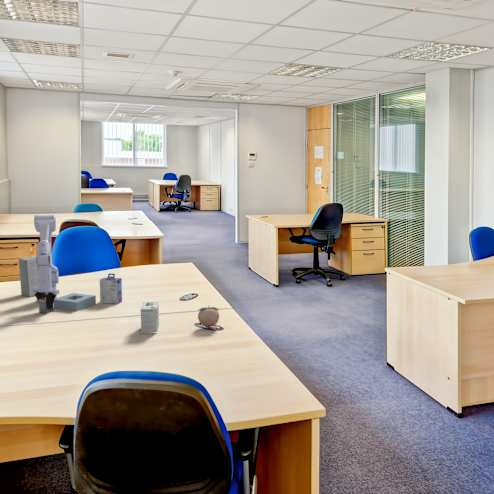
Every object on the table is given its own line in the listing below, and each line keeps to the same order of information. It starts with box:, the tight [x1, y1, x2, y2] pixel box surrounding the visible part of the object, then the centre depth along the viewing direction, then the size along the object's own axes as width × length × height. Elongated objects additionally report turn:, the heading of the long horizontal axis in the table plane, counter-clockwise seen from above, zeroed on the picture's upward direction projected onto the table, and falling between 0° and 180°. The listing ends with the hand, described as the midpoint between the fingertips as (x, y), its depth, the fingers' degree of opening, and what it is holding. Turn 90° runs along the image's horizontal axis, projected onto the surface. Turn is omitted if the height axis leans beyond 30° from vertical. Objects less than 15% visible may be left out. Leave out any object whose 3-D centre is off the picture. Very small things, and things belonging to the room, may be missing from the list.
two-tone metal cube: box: [38, 297, 55, 315], centre depth 244 cm, size 4×5×6 cm
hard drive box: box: [18, 255, 54, 298], centre depth 278 cm, size 16×8×20 cm, turn 144°
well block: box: [53, 292, 97, 312], centre depth 255 cm, size 14×14×4 cm
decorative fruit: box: [197, 306, 220, 328], centre depth 222 cm, size 9×8×10 cm
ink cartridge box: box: [99, 273, 123, 305], centre depth 262 cm, size 10×6×14 cm, turn 79°
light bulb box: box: [140, 301, 160, 334], centre depth 219 cm, size 11×7×11 cm, turn 5°
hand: (46, 307), depth 244 cm, fingers closed on two-tone metal cube, 4 cm apart
